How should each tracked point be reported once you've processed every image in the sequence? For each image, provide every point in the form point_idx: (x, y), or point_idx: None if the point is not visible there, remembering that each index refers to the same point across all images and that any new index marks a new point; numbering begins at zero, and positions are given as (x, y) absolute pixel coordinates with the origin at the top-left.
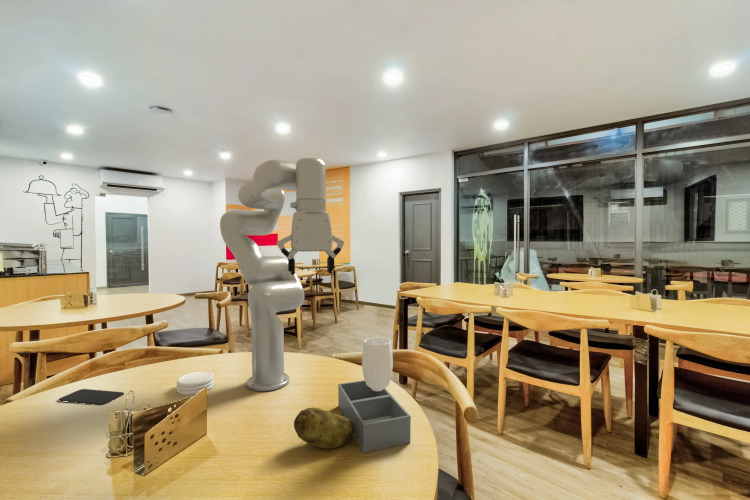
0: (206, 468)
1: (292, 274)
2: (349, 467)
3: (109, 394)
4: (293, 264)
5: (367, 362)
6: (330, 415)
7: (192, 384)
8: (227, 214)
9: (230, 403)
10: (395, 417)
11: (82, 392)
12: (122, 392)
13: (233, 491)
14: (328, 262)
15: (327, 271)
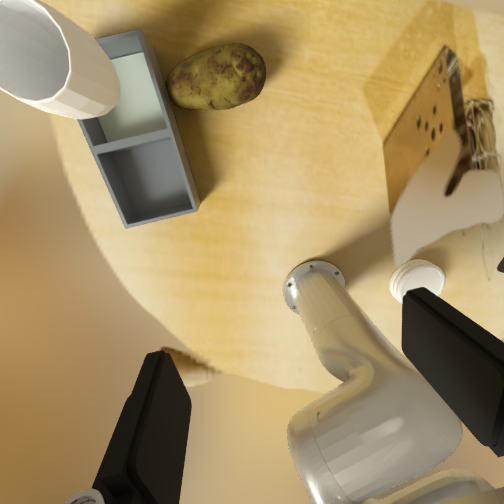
0: (373, 47)
1: (418, 288)
2: (174, 8)
3: None
4: (474, 332)
5: (84, 31)
6: (203, 77)
7: (423, 265)
8: None
9: (360, 228)
10: (95, 121)
11: None
12: (500, 270)
13: None
14: (163, 449)
15: (188, 400)
